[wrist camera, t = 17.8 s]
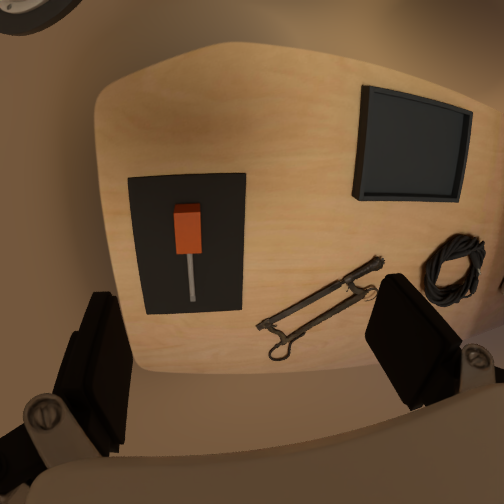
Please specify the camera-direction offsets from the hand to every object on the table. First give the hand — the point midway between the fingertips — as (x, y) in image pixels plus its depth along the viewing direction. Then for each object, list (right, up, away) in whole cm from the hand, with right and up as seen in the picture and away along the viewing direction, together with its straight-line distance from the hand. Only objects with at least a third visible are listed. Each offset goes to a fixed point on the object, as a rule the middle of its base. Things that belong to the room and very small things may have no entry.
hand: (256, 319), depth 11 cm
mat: (-8, +2, +30) cm, 31 cm away
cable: (+37, 0, +40) cm, 55 cm away
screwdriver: (-8, +2, +30) cm, 31 cm away
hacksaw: (+12, -7, +39) cm, 42 cm away
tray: (+23, +17, +28) cm, 40 cm away
